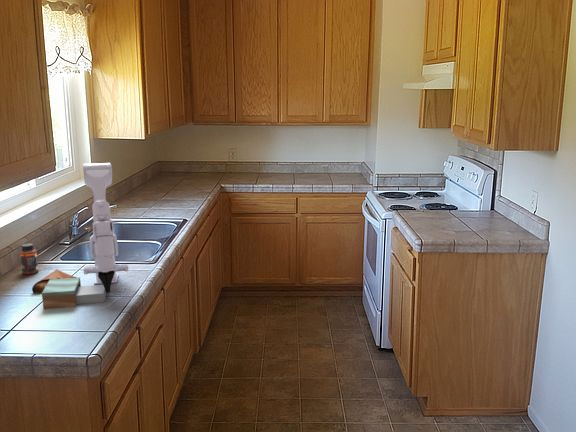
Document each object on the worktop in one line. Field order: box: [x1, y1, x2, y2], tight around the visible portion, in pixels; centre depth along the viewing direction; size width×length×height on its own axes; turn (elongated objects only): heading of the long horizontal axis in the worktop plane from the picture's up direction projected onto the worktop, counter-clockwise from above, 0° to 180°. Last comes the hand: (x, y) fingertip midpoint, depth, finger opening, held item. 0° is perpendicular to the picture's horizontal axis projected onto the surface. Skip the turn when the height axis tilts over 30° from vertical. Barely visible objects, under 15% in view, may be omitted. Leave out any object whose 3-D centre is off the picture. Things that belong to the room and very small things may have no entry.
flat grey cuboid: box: [75, 284, 107, 305], centre depth 190 cm, size 9×14×3 cm, turn 103°
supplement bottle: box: [19, 242, 39, 275], centre depth 216 cm, size 6×6×11 cm
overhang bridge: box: [41, 277, 82, 310], centre depth 188 cm, size 13×10×6 cm
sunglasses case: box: [31, 268, 76, 294], centre depth 203 cm, size 18×7×7 cm
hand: (108, 292), depth 191 cm, fingers closed
